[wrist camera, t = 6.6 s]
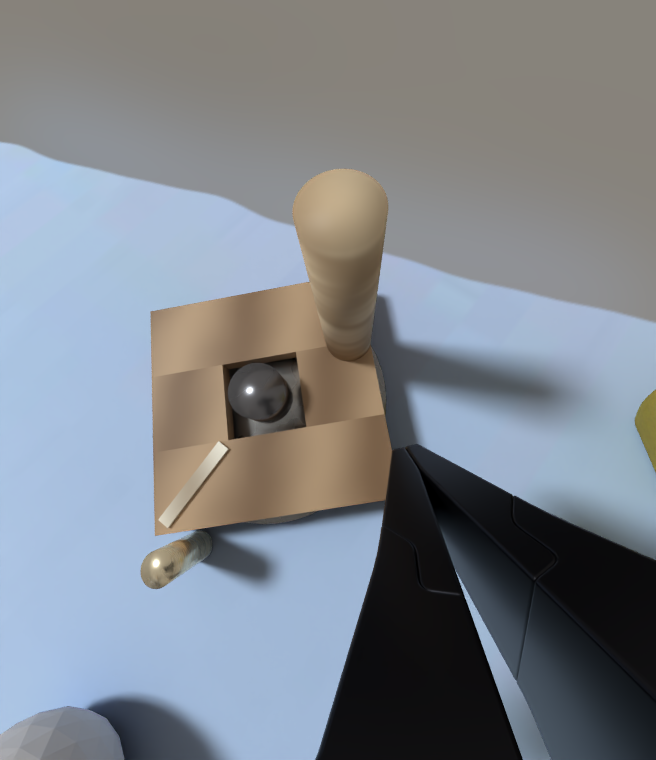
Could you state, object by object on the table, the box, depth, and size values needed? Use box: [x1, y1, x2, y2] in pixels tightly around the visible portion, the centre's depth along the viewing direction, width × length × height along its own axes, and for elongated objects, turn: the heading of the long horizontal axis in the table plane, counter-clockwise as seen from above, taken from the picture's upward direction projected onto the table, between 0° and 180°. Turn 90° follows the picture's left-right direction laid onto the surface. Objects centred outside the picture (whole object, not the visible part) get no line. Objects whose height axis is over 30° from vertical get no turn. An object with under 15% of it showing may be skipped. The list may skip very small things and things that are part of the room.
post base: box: [141, 346, 386, 589], centre depth 18 cm, size 14×17×4 cm
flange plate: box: [151, 169, 392, 536], centre depth 14 cm, size 13×13×11 cm
